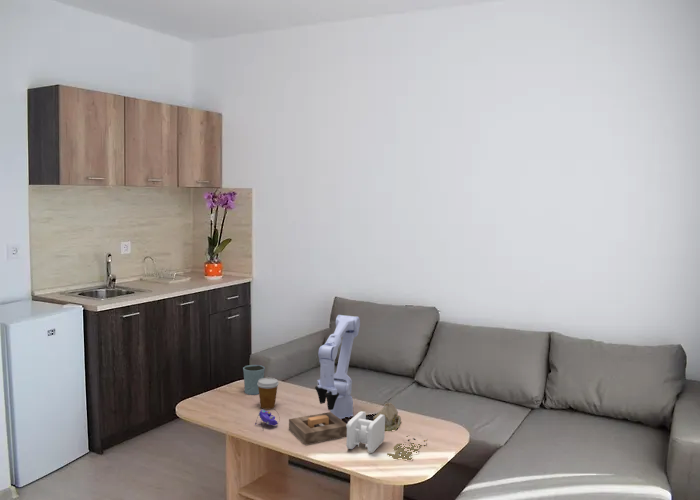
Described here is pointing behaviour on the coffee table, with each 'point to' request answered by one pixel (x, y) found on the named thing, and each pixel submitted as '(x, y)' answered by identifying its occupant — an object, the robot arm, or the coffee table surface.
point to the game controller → (267, 418)
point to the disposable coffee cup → (267, 392)
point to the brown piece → (317, 429)
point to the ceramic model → (390, 417)
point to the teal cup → (252, 378)
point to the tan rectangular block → (318, 420)
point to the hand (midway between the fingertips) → (326, 406)
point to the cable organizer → (365, 431)
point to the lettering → (396, 456)
